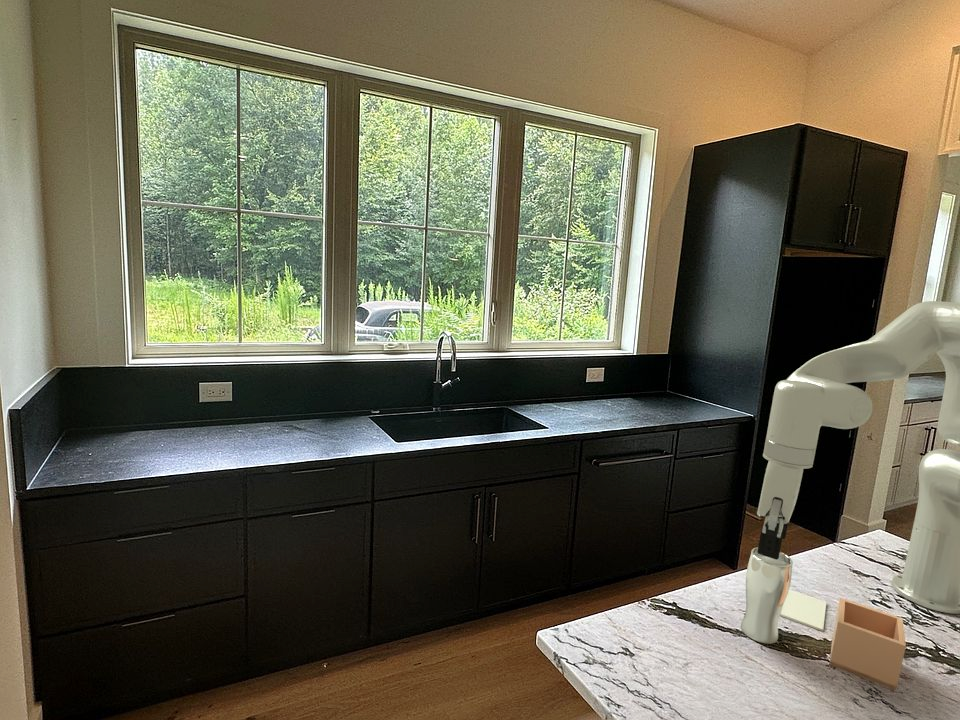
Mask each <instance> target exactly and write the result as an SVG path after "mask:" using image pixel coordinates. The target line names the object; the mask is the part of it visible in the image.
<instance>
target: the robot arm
mask: <svg viewBox="0 0 960 720" xmlns="http://www.w3.org/2000/svg"><path fill="white" fill-rule="evenodd" d="M935 354H937V356H938V357H939V358H940V360H941V363H942V365H943V367H944V371H945V382H944V388H943V389H944V390H943V394H942V399H941V404H940V405H941V406H940V409H939V414H938V419H937V432H938V435H939V436H940V438H941V439H942V440H944V441H945V442H947V443H950V444H953V445H955V446H958V447H960V302H957V301H956V302H953V301H940V300H939V301H938V300H937V301H936V300H931V301H930V300H929V301H928V300H927V301H922V302H918V303H916V304H914V305H912V306H911V307H909V308H908V309H907V310H905V311H904V312H902V313H901V314H900V315H899V316H897V317H896V318H895V319H893V320H892V321H891V322H890V323H888V324H887V325H886V326H885V327H883V328H882V329H881V330H880V331H878V332H877V333H875V335H872V336H871V337H870V338H869V339H868V340H865V341H861V342H857V343H853V344H849V345H846V346H842V347H840V348H837V349H833V350H829V351H827V352H824V353H821V354H819V355H817V356H815V357H813V358H811V359H809V360H808V361H806V362H805V363H804V364H803V365H800V367H799V368H797V369H796V370H795V371H793V372H792V373H791V374H790V375H789V376H788V377H787V378H786V379H783V380H780V381H777V383H776V385H775V387H774V392H773V395H772V403H771V407H770V413H769V419H768V426H767V431H766V435H765V436H766V437H765V442H764V449H763V453H762V457H763V458H764V459H765V460H767V461H768V463H767V465H766V468H765V473H764V477H763V483H762V487H761V491H760V492H761V493H760V498H759V502H758V507H757V511H756V514H757V516H758V517H760V518H761V517H764V522H763V526H762V530H761V531H760V536H759V539H758V540H759V541H758V546H757V547H758V551H757V552H758V554H760V555H763V556H766V557H769V558H773V559H776V560H777V559H778V558H779V554H780V552H781V547H782V543H783V540H785V539H786V536H787V531H788V530H787V529H788V526H789V523H790V519H791V517H792V515H793V512H794V510H795V506H796V503H797V500H798V496H799V493H800V489H801V488H800V487H801V482H802V479H803V473H804V469H805V470H806V469H811V468H813V465H814V461H815V456H816V450H817V445H818V442H819V441H818V440H819V434H820V429H821V427H822V426H823V427H831V428H835V429H841V430H849V429H855V428H858V427H860V426H862V425H864V424H865V423H866V422H867V421H868V420H869V419H870V417H871V415H872V413H873V407H874V406H873V401H872V399H871V397H870V395H868V393H867V392H866V391H865V390H863V389H862V388H859V387H858V386H855V385H852V384H851V383H864V382H870V383H871V382H884V381H892V380H899V379H903V378H906V377H907V376H909V375H910V374H911V373H913V372H914V371H915V370H916V369H917V368H918V367H920V366H921V365H922V364H924V363H925V362H927V360H928V359H930V358H931V357H932V356H933V355H935ZM891 586H892V588H893V589H894V591H896V593H898V594H899V595H901V596H902V597H903V598H905V599H907V600H909V601H911V602H913V603H915V604H917V605H919V606H921V607H924V608H925V609H929V610H933V611H936V612H941V613H945V614H951V615H952V614H955V615H958V614H960V451H958V450H954V449H948V448H945V449H944V448H938V449H933V450H931V451H928V452H926V453H925V455H923V456H922V458H921V460H920V462H919V466H918V499H917V506H916V510H915V516H914V520H913V525H912V530H911V534H910V540H909V544H908V549H907V554H906V557H905V563H904V568H903V573H902V574H898V575H895V576H893V577H892V580H891Z"/></svg>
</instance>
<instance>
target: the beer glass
mask: <svg viewBox="0 0 960 720" xmlns="http://www.w3.org/2000/svg"><path fill="white" fill-rule="evenodd" d="M757 551H758V546H757V547H754V548H752V549H751V551H750V552H751V553H750V557H749V561H748V563H747V567H746V568H747V569H746V575H745V600H746V601H745V605H746V606H745V613H744V615H743V618H742V621H741V623H740V629H741V631H742V633H743V634H745V635H746V637H748V638H749V639H751V640H753V641H755V642H758V643H761V644H766V645H767V644H770V645H772V644H775V643H776V642H777V641H778V639H779V628H778V627H779V619H780V617H781V616H780V614H781V611H782V609H783V606H784V604H785V601H786V599H787V596H788V593H789V590H791V584H792V576H793V575H792V574H793V563H794V561H793V559H792V558H791V557H790V556H789V555H787V554H786V553H783V552H782V551H780V554H779V558H778V559H777V560H776V559H773V558H769V557H766V556H763V555H760V554H758V552H757Z"/></svg>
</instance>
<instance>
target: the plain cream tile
mask: <svg viewBox="0 0 960 720" xmlns="http://www.w3.org/2000/svg"><path fill="white" fill-rule="evenodd" d="M826 608H827V601H824V600H821V599H818V598H815V597H812V596H810V595H806V594H803V593H801V592H798V591H796V590H792V589H789V593H788V596H787V599H786V601H785V604H784V606H783V609H782V611H781V614H780V616H779V617H782V618H785V619H788V620H790V621H793V622H796V623H798V624H802V625H804V626H806V627H810V628H811V629H812V628H813V629H816V630H818V631H821V632H824V626H825V625H824V624H825V618H826V617H825V616H826Z"/></svg>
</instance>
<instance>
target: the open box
mask: <svg viewBox="0 0 960 720" xmlns="http://www.w3.org/2000/svg"><path fill="white" fill-rule="evenodd" d="M838 600H839V601H838V605H837V612H836V616H835V621H834V624H833V625H834V626H833V630H832V631H833V632H832V636H831V645H830V657H829V658H830V659H829V666H831V667H834V668H836V669H839V670H841V671H844V672H846V673H849V674H851V675H854V676H856V677H859V678H862V679H864V680H867V681H870V683H871V682H872V683H875V684H877V685H879V686H882V687H885V688H887V689H890V690H893V691H895V692H897V690H898V684H899V679H900V675H901V670H902V666H903V661H904V657H905V651H906V649H907V644H906V635H905V628H904V619H903V617H900V616H896V615H894V614H892V613H888V612H885V611H882V610H880V609H876V608H873V607H869V606H866V605H864V604H860V603H858V602H855V601H853V600H849V599H845V598H842V597H839V599H838Z"/></svg>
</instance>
